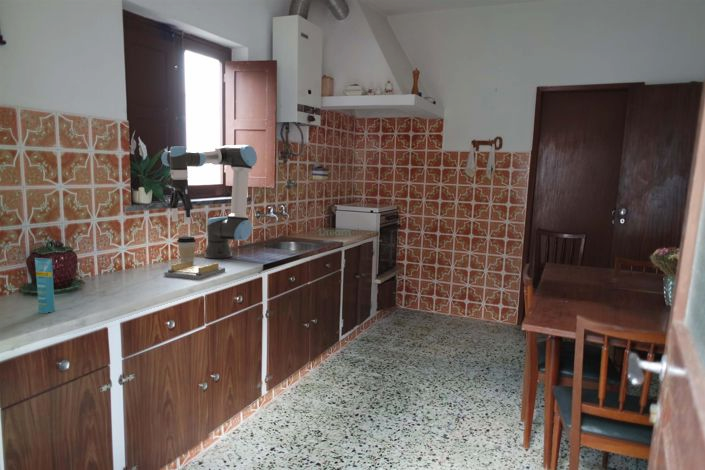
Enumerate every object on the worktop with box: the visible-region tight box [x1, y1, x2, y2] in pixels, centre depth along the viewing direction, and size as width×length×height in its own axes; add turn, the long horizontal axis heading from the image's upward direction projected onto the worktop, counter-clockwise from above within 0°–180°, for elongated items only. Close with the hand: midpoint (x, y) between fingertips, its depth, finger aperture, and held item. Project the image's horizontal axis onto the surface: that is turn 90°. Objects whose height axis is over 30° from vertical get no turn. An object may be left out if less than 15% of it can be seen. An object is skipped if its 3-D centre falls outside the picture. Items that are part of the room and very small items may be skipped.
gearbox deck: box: [163, 260, 226, 281], centre depth 235 cm, size 20×20×5 cm
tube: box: [34, 257, 56, 314], centre depth 170 cm, size 7×5×19 cm, turn 81°
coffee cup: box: [176, 236, 197, 264], centre depth 254 cm, size 9×9×15 cm
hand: (181, 222), depth 237 cm, fingers open, 13 cm apart
